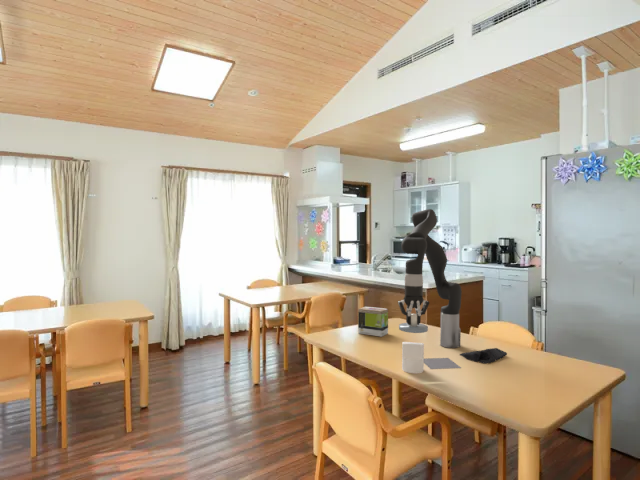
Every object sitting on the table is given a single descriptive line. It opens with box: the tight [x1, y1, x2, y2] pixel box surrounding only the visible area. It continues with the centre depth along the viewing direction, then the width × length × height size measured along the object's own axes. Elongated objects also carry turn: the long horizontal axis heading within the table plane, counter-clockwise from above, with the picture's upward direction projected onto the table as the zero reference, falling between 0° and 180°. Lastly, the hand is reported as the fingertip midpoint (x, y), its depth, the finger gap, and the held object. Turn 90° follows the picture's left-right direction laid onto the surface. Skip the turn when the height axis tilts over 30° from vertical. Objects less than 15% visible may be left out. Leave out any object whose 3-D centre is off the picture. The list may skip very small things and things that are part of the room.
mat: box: [424, 357, 462, 370], centre depth 184 cm, size 14×14×1 cm
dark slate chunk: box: [459, 347, 508, 365], centre depth 194 cm, size 15×22×5 cm
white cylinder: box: [401, 341, 425, 374], centre depth 175 cm, size 9×9×12 cm
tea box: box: [357, 306, 389, 337], centre depth 237 cm, size 15×10×15 cm, turn 58°
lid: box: [398, 313, 429, 334], centre depth 175 cm, size 12×12×6 cm
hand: (413, 324), depth 175 cm, fingers closed on lid, 3 cm apart
